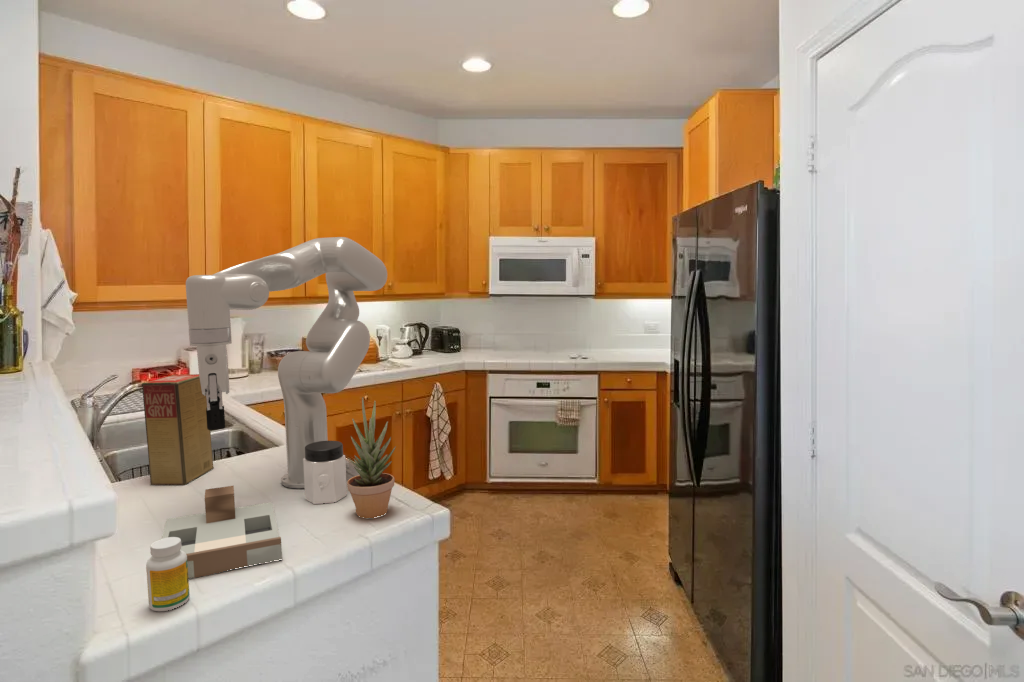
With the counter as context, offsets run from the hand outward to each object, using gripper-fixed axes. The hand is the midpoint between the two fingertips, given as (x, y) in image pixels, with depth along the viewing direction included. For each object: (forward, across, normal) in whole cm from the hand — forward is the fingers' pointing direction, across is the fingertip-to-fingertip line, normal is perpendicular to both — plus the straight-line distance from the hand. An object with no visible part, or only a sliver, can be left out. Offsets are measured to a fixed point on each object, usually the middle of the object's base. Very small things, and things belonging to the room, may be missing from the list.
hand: (216, 426), depth 121 cm
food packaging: (+19, +34, +9) cm, 40 cm away
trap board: (+19, -15, 0) cm, 24 cm away
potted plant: (+19, -12, -28) cm, 36 cm away
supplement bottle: (+19, -33, +7) cm, 39 cm away
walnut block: (+16, -8, 0) cm, 18 cm away
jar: (+19, +2, -21) cm, 29 cm away
